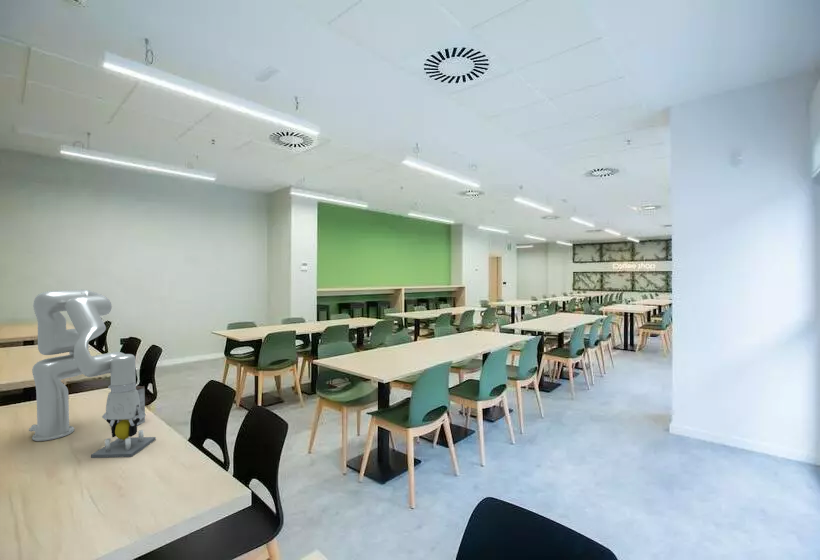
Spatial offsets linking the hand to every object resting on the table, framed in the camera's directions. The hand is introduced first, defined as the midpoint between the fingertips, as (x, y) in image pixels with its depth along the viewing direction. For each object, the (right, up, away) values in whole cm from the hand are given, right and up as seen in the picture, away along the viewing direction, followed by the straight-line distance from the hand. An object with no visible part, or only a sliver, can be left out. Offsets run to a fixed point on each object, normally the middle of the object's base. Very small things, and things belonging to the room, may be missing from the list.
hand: (124, 434), depth 145 cm
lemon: (0, -2, 0) cm, 2 cm away
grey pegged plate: (0, -5, 0) cm, 5 cm away
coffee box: (-15, -5, +24) cm, 28 cm away
